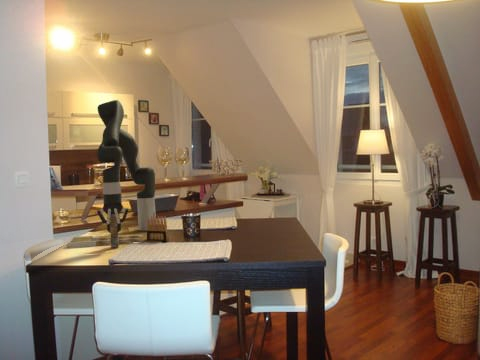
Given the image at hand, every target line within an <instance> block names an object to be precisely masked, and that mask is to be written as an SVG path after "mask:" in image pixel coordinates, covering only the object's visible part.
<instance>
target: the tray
mask: <svg viewBox="0 0 480 360" xmlns="http://www.w3.org/2000/svg"><path fill="white" fill-rule="evenodd" d="M98 238H100V236H93V241H86V242H73V238H71V239H70V240H69V241H68V242H67V249H73V248H74V249H75V248H89V247H97V246H96V241H98Z"/></svg>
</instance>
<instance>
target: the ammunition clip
mask: <svg viewBox="0 0 480 360" xmlns="http://www.w3.org/2000/svg"><path fill="white" fill-rule="evenodd" d="M146 240H147V241H150V240H151V241H161V243H168V242H169V230H168V225H167V217H166V215H164V216H162V215H161V216H159V215H157V217H155V216H154V224H153V217H152V216H151V224H150V218H149V216H148V218H147V231H146Z"/></svg>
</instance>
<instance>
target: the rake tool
mask: <svg viewBox="0 0 480 360" xmlns="http://www.w3.org/2000/svg"><path fill="white" fill-rule="evenodd" d="M117 224H118V223H117V219H116V215H115V214H112V215H110V233H109V234H110V237H111V238H110V240H111V245H110V248H119V246H120V245H119V232H118V229H117Z"/></svg>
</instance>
